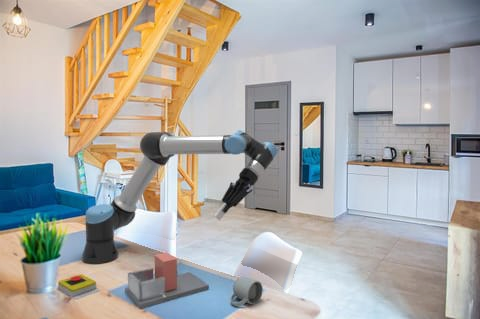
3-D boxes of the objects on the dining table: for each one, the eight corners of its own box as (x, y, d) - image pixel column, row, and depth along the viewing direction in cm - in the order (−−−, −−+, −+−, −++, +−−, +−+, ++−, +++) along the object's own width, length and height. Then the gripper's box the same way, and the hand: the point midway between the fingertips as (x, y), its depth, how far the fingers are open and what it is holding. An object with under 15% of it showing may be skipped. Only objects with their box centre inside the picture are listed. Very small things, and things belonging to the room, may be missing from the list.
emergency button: (79, 269, 139) (100, 280, 129) (79, 280, 139) (100, 291, 130) (55, 277, 131) (75, 288, 122) (55, 288, 132) (75, 301, 122)
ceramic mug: (245, 292, 130) (245, 272, 129) (263, 300, 124) (263, 278, 123) (224, 302, 122) (224, 281, 121) (241, 311, 116) (241, 288, 116)
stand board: (125, 291, 129) (124, 287, 129) (189, 275, 144) (189, 271, 144) (140, 308, 117) (140, 303, 116) (208, 289, 132) (208, 284, 132)
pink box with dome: (154, 283, 131) (154, 255, 131) (169, 280, 135) (169, 252, 134) (163, 291, 125) (163, 261, 124) (179, 287, 129) (179, 258, 128)
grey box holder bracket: (128, 289, 127) (127, 272, 127) (152, 283, 133) (152, 267, 132) (139, 301, 118) (139, 284, 118) (164, 294, 124) (164, 277, 123)
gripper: (266, 181, 146) (231, 227, 137) (246, 177, 156) (213, 220, 148) (256, 168, 142) (220, 215, 134) (237, 165, 153) (202, 209, 144)
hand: (217, 217), depth 141 cm, fingers closed
